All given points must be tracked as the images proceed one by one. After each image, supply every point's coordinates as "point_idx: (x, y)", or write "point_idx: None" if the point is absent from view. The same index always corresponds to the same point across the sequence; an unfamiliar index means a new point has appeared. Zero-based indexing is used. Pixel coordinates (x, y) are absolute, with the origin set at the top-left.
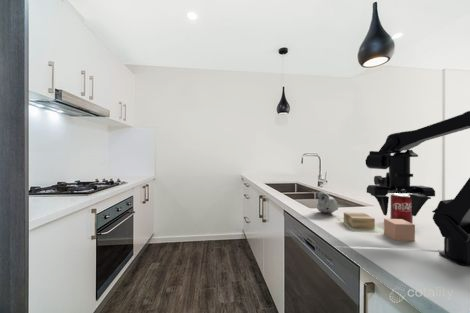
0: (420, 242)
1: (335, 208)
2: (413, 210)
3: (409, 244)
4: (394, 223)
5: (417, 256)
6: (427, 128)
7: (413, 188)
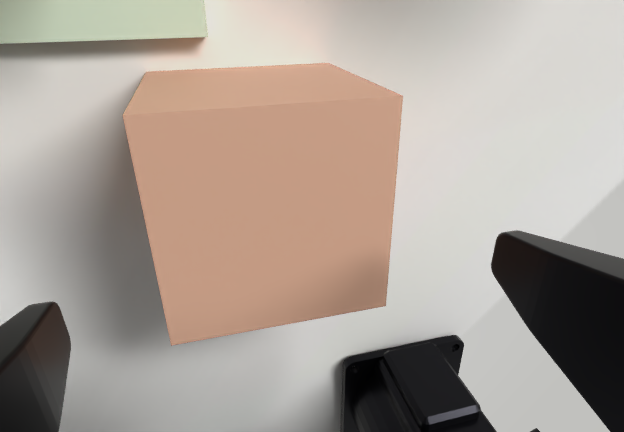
0: None
1: None
2: (555, 306)
3: None
4: (174, 323)
5: (200, 415)
6: None
7: None
